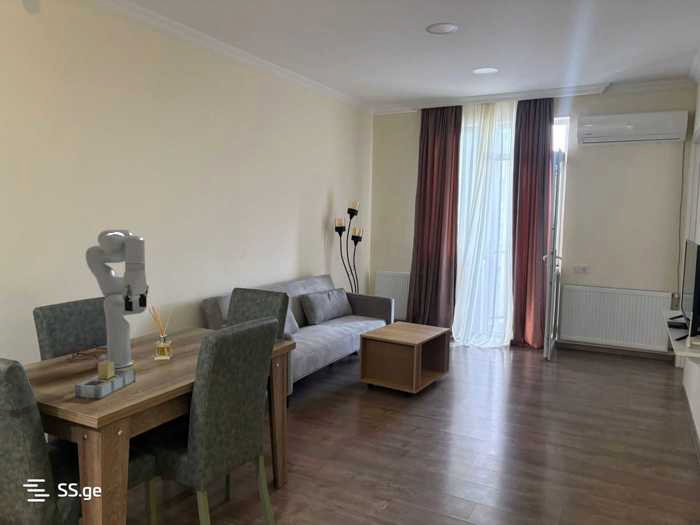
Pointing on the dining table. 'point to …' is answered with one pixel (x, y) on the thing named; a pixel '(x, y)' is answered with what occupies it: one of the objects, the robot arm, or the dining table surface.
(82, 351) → the glasses
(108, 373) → the peg
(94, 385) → the grey compartment tray
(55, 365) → the dining table surface
